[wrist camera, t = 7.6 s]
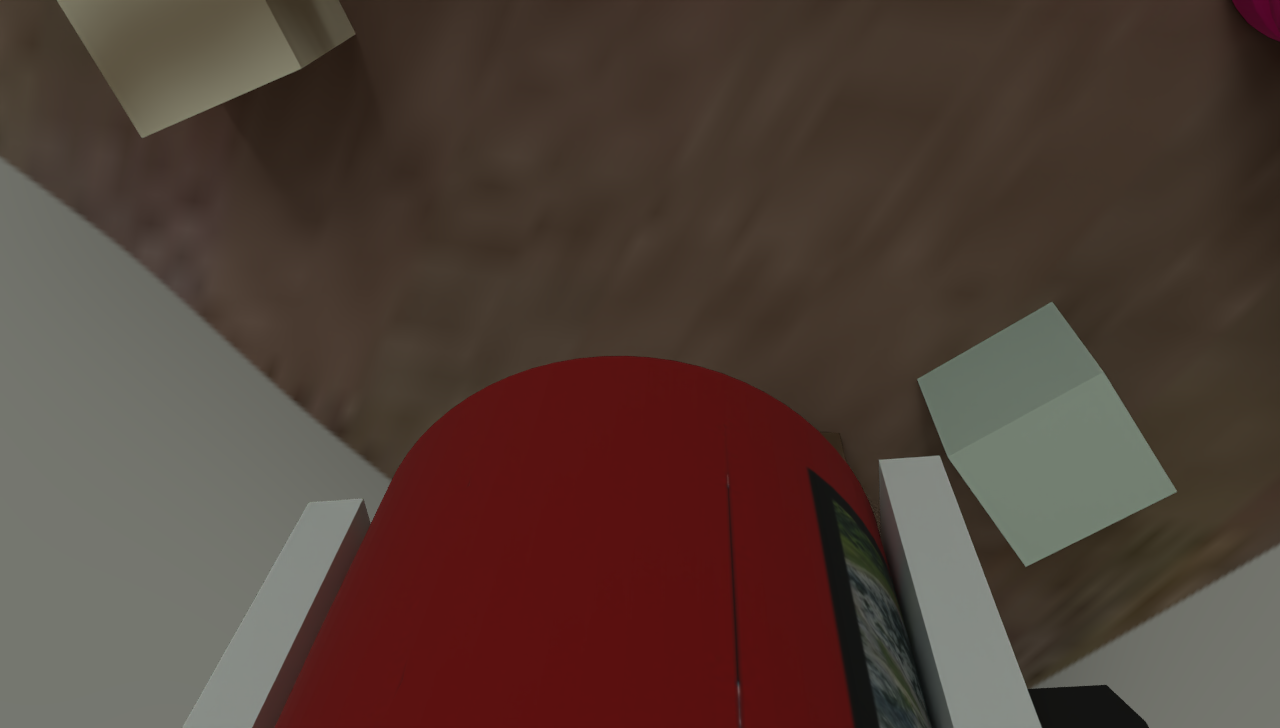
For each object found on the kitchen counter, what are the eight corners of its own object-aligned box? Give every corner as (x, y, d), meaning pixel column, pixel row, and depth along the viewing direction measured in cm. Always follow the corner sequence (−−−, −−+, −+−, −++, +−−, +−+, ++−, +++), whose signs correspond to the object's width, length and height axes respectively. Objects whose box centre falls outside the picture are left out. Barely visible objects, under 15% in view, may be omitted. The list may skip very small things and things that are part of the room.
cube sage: (916, 378, 36) (947, 457, 32) (1051, 300, 35) (1103, 372, 30) (987, 479, 38) (1025, 567, 34) (1118, 409, 37) (1177, 491, 32)
